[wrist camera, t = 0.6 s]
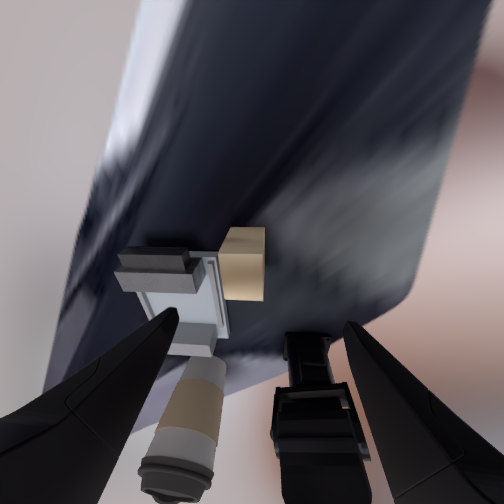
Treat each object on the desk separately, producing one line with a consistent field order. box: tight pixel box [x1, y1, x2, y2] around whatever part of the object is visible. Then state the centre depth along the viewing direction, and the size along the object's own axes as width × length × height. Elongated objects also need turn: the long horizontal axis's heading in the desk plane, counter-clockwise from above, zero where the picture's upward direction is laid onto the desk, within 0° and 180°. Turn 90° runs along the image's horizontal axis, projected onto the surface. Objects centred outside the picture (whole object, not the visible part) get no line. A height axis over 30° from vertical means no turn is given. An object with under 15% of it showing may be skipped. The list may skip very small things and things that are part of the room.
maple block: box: [218, 227, 265, 301], centre depth 18 cm, size 5×4×6 cm
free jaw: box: [114, 246, 205, 294], centre depth 20 cm, size 4×8×3 cm, turn 92°
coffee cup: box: [138, 355, 227, 504], centre depth 27 cm, size 9×9×15 cm
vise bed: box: [136, 251, 230, 357], centre depth 23 cm, size 14×11×4 cm
